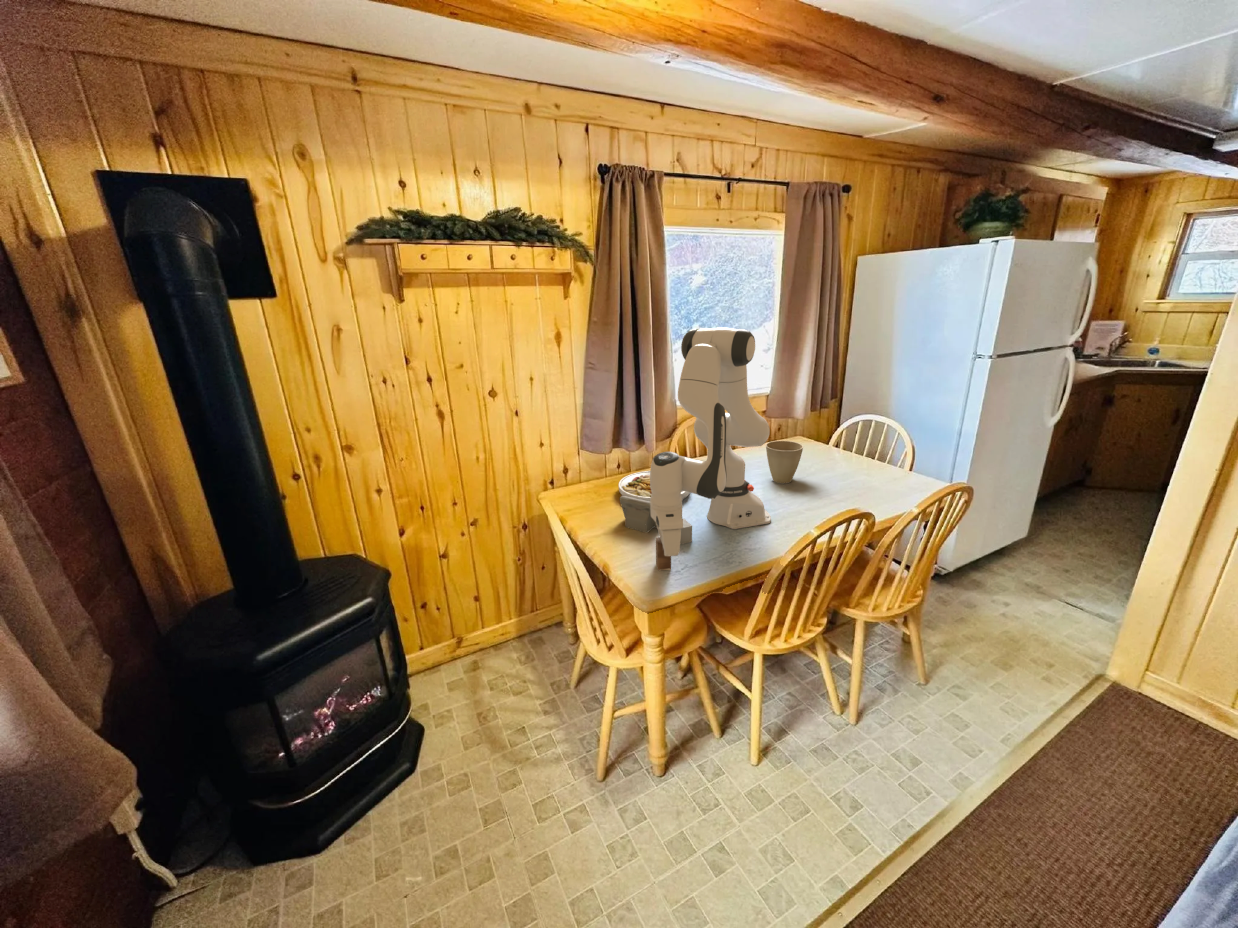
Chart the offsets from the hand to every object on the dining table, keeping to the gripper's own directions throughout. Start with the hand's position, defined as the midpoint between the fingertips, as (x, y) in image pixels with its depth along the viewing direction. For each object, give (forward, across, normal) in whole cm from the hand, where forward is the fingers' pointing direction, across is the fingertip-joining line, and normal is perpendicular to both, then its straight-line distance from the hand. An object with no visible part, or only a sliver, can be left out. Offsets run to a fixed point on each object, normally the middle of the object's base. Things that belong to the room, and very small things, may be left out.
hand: (666, 553), depth 138 cm
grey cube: (+8, -21, +8) cm, 24 cm away
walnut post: (+8, -5, 0) cm, 9 cm away
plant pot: (+8, -67, +61) cm, 91 cm away
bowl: (+8, -61, +5) cm, 62 cm away
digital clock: (+8, -33, -4) cm, 34 cm away
